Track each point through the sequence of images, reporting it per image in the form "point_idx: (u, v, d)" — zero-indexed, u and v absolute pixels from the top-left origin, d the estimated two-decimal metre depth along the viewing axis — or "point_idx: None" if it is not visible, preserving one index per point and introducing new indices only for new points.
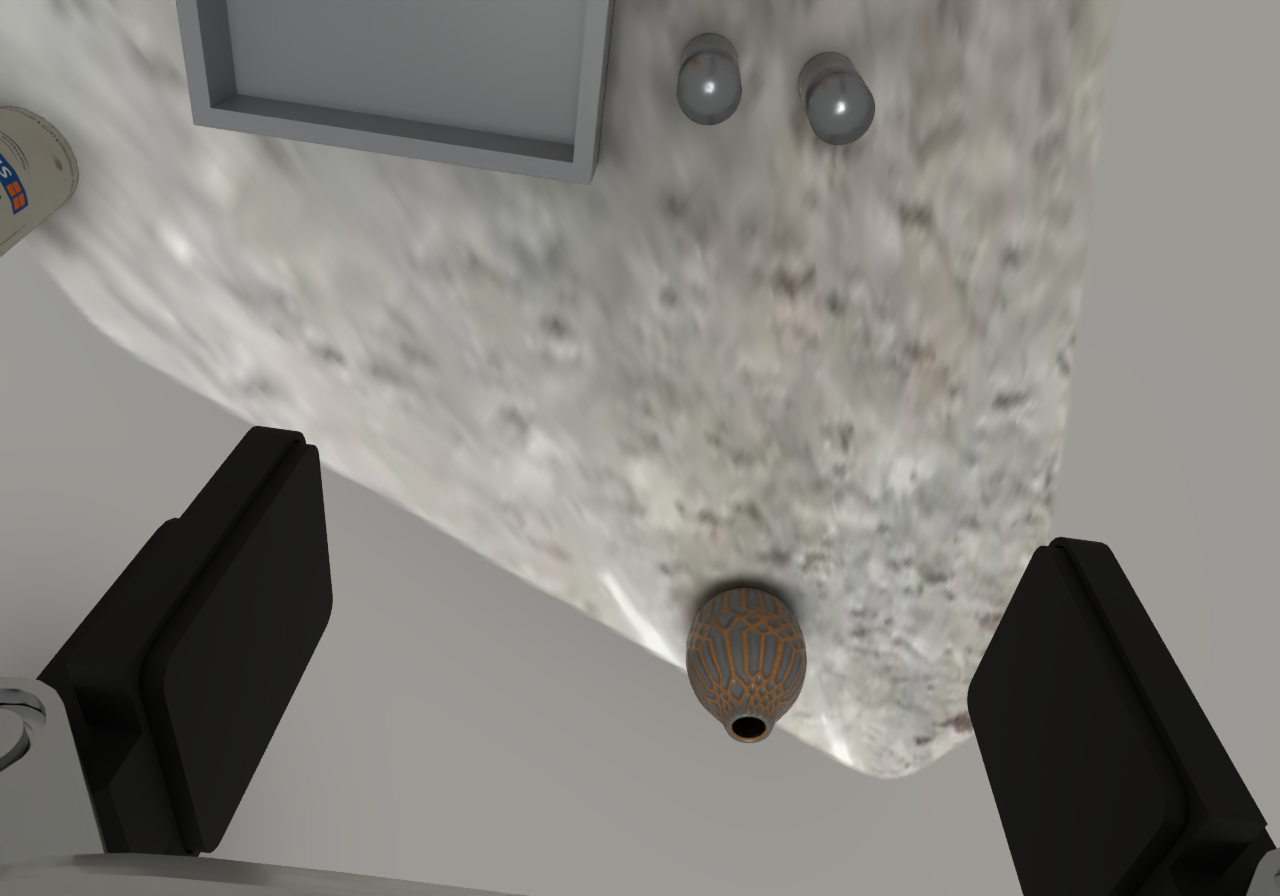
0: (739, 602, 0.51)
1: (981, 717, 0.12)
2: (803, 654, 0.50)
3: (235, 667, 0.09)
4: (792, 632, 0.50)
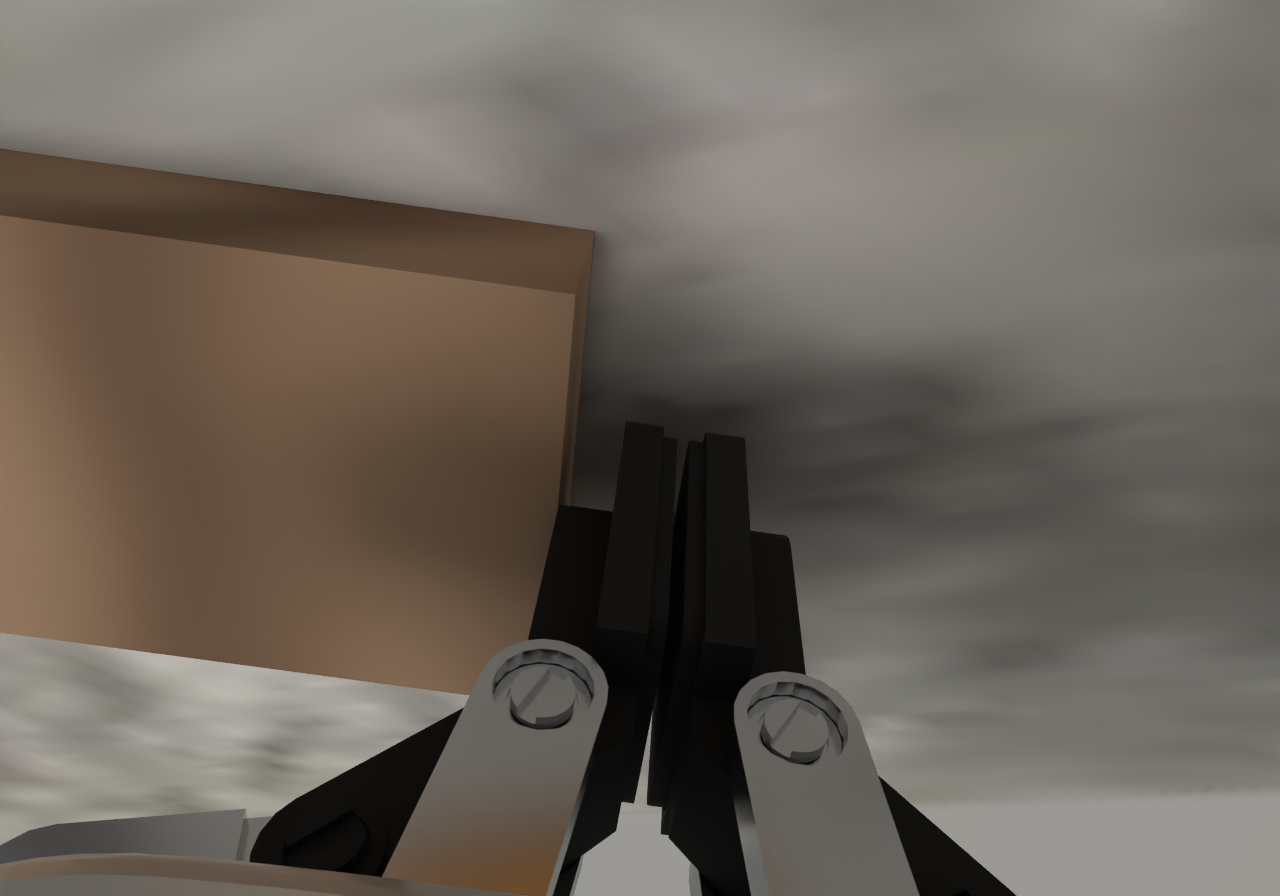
0: None
1: None
2: None
3: None
4: None
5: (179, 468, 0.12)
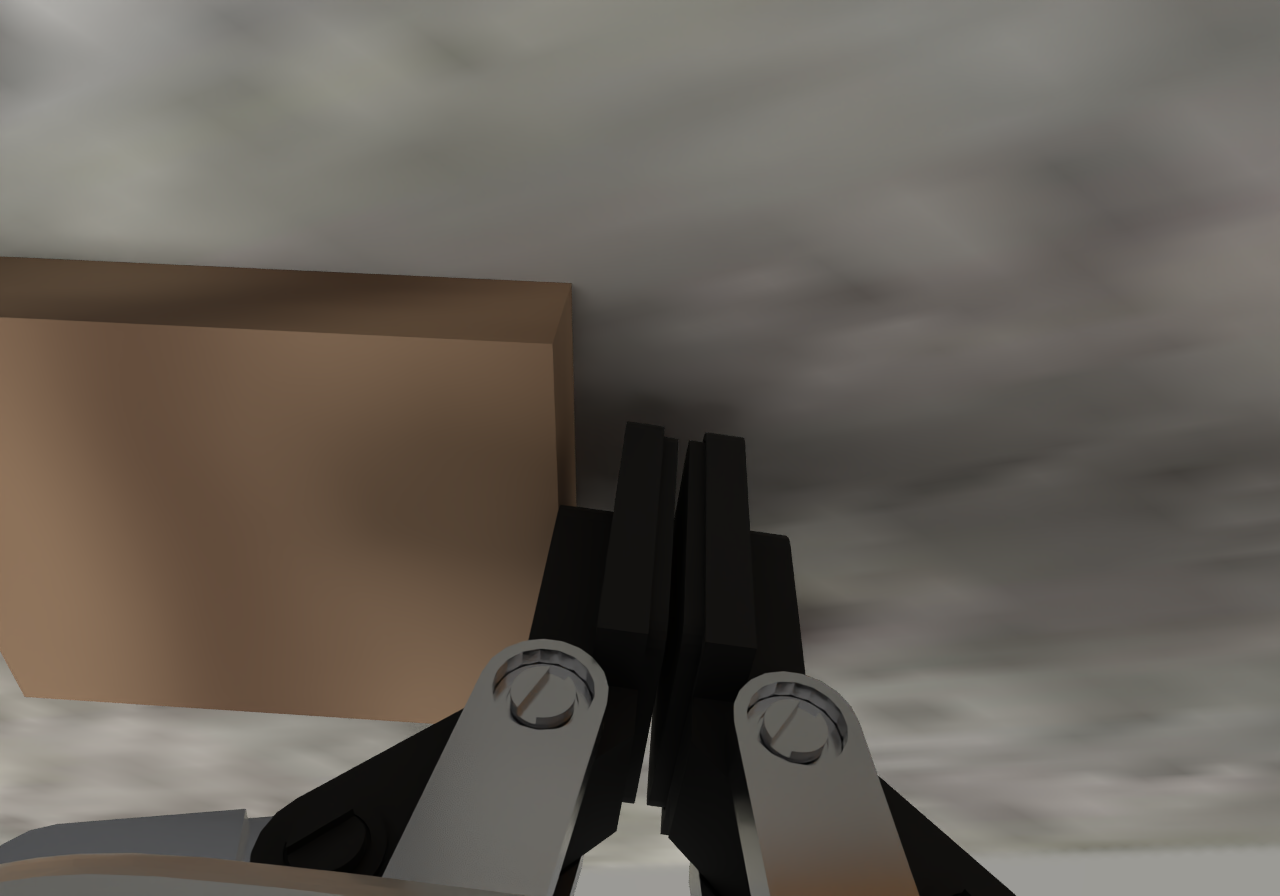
0: None
1: None
2: None
3: None
4: None
5: (204, 534, 0.13)
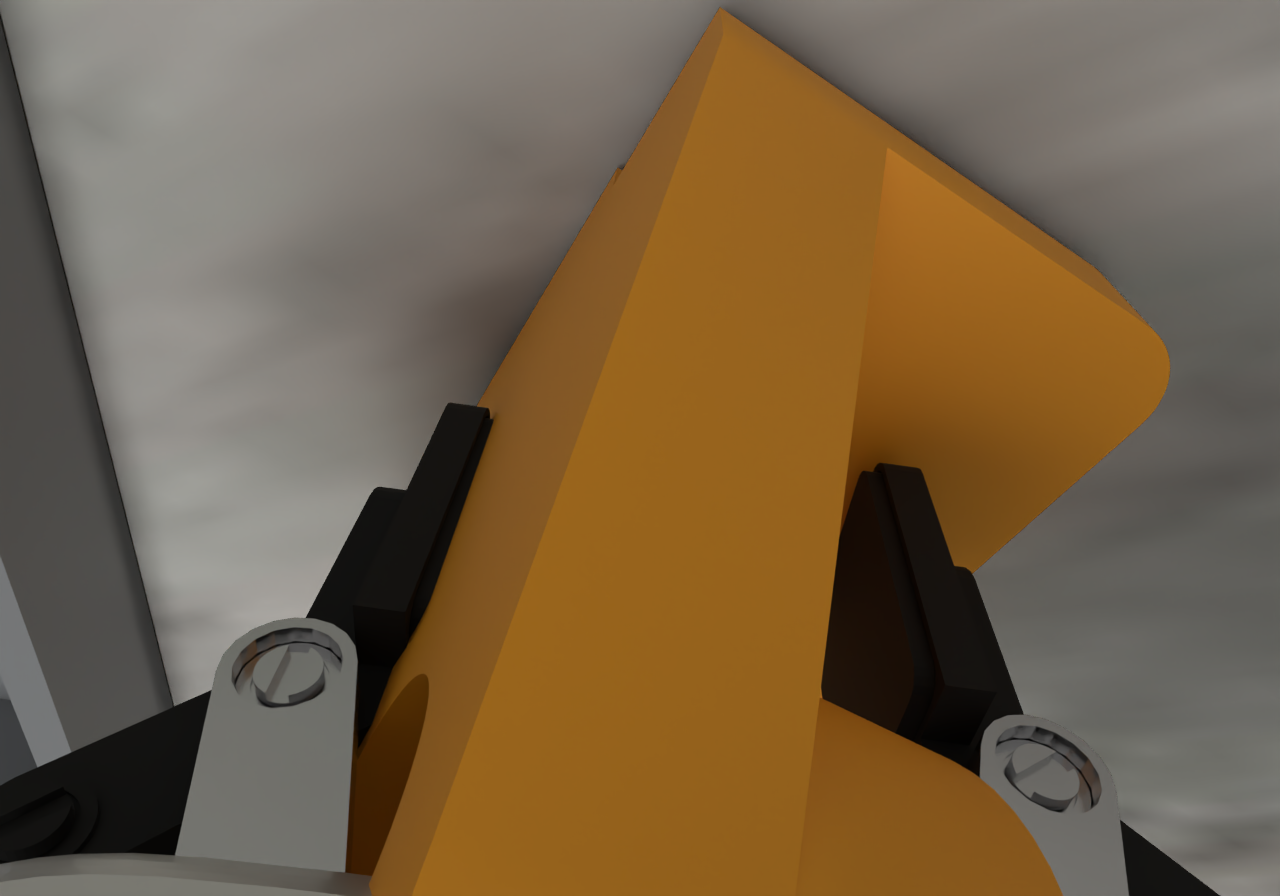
0: None
1: None
2: None
3: None
4: None
5: None
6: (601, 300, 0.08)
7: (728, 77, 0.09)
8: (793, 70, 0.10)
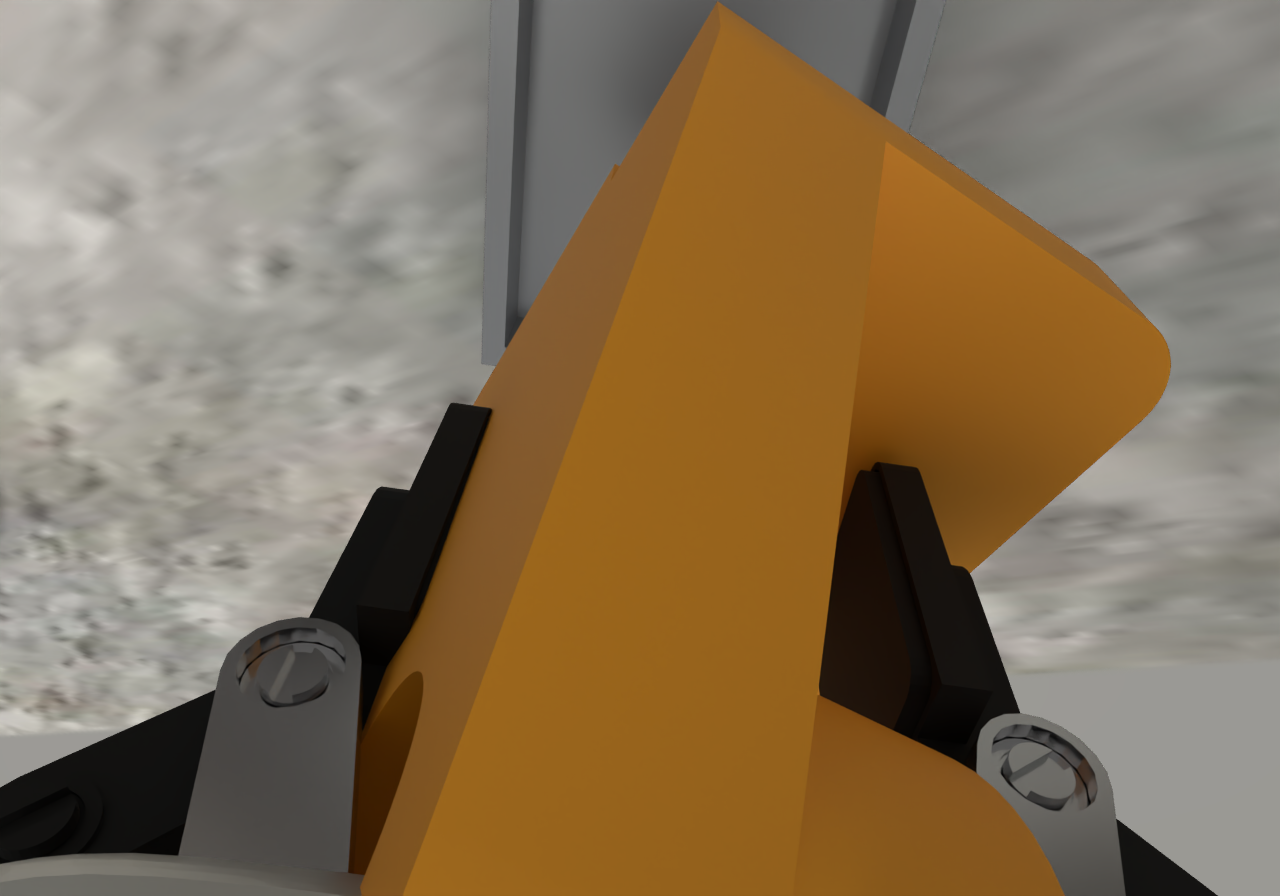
0: None
1: None
2: None
3: None
4: None
5: None
6: (598, 294, 0.08)
7: (726, 70, 0.09)
8: (791, 64, 0.10)
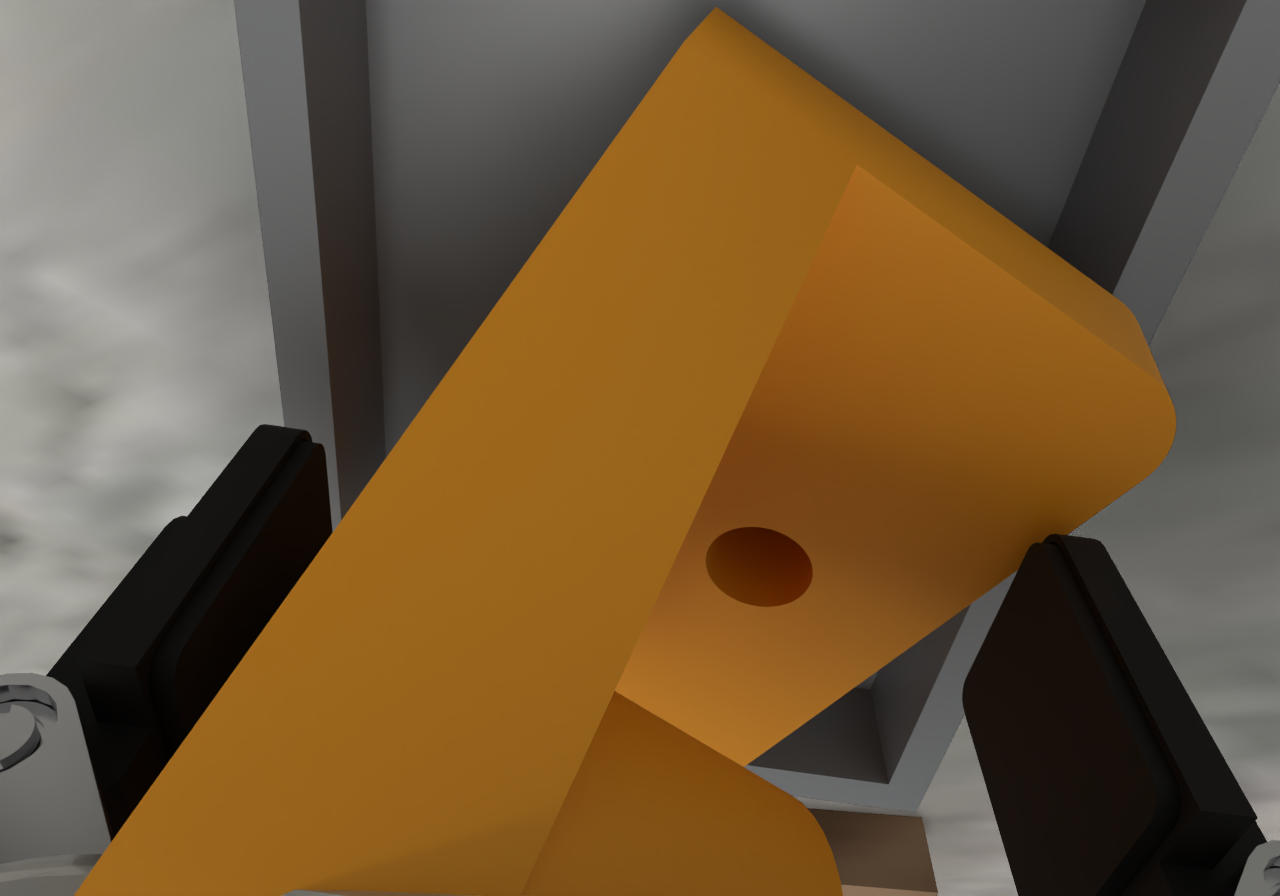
0: None
1: (975, 713, 0.12)
2: None
3: None
4: None
5: None
6: None
7: (676, 85, 0.09)
8: (775, 77, 0.10)
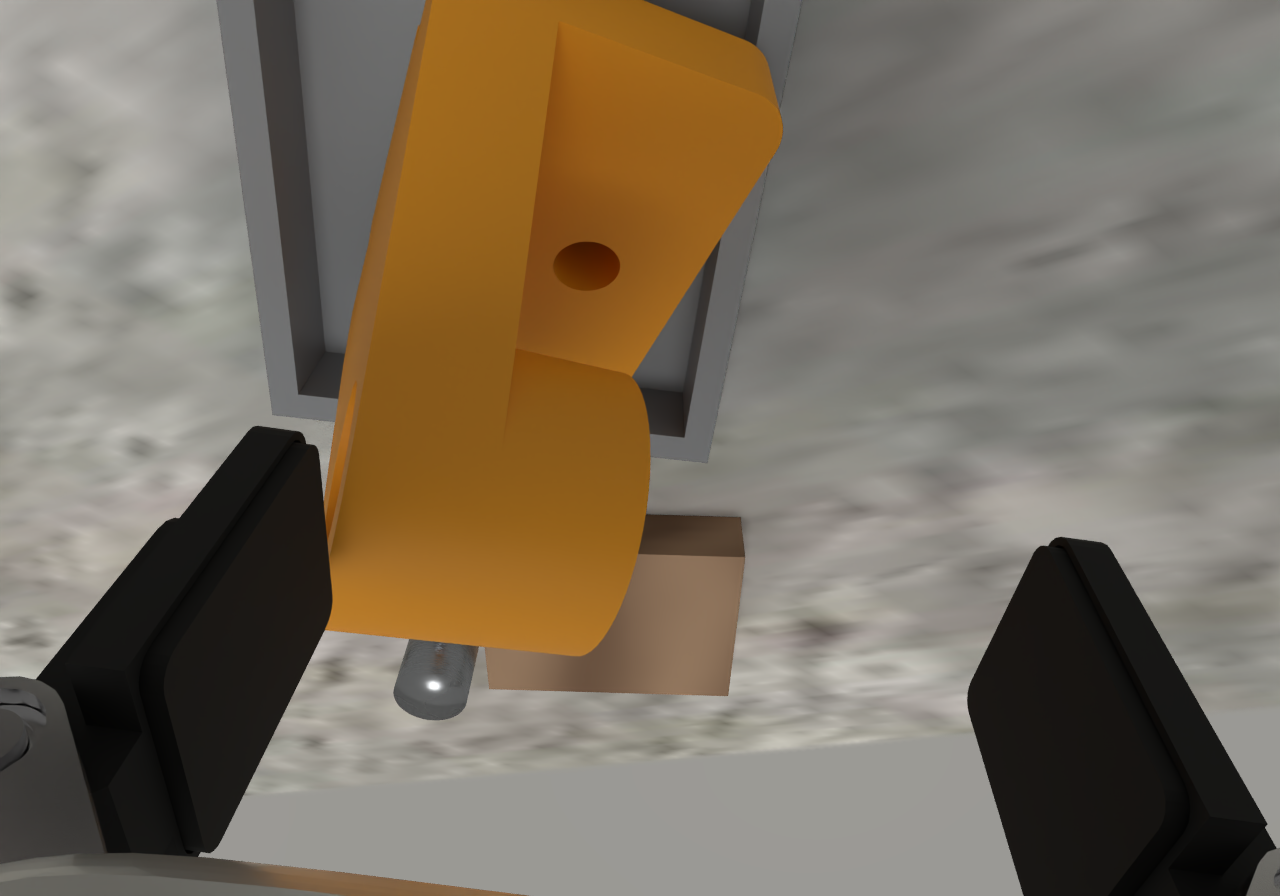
0: None
1: (981, 717, 0.12)
2: None
3: (235, 667, 0.09)
4: None
5: None
6: (397, 174, 0.15)
7: (443, 11, 0.15)
8: None
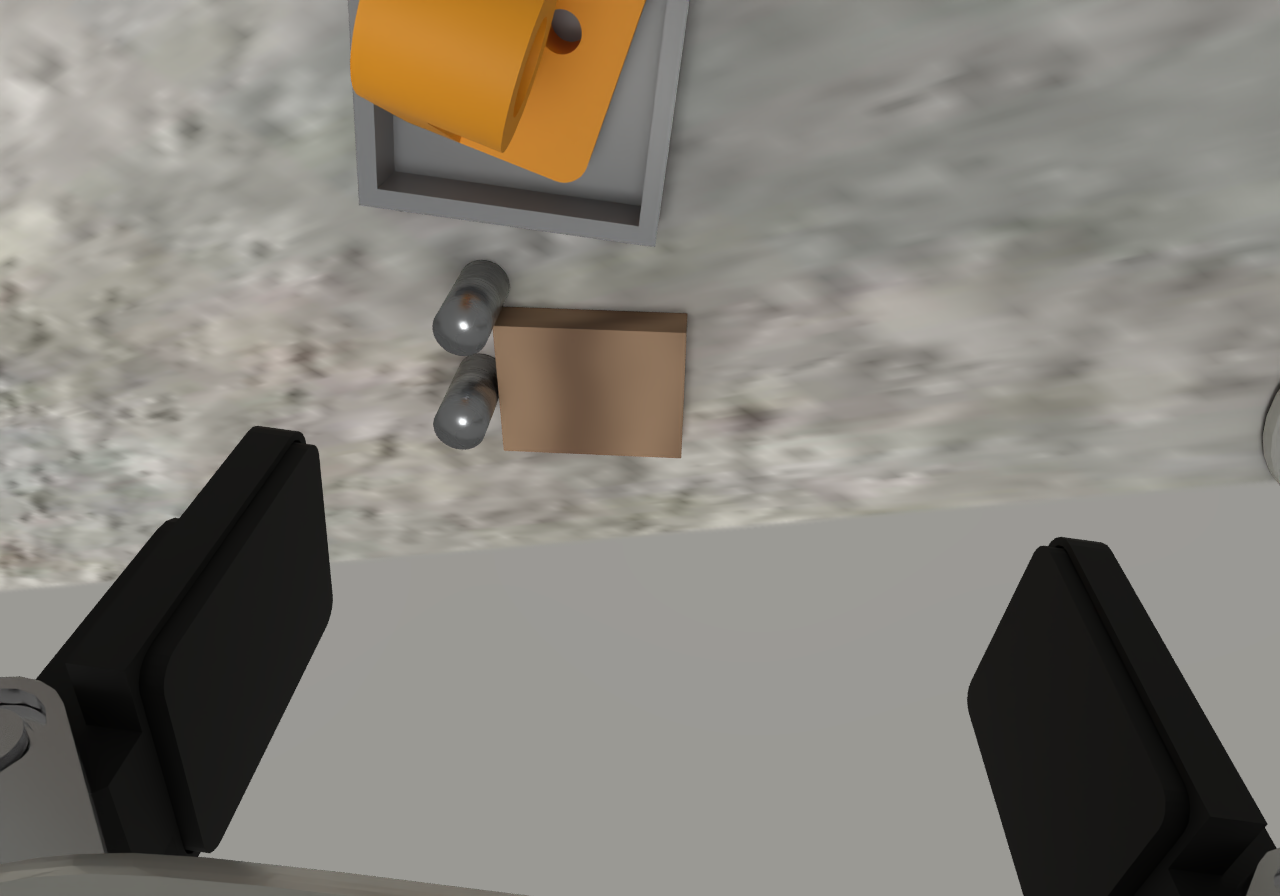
0: None
1: (981, 717, 0.12)
2: None
3: (235, 667, 0.09)
4: None
5: (579, 389, 0.43)
6: None
7: None
8: None
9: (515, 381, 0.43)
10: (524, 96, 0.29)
